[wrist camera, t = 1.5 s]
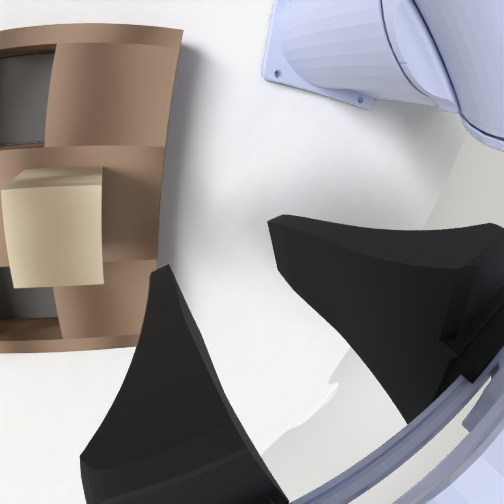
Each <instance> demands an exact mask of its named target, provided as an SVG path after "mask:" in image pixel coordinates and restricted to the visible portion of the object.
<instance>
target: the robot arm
mask: <svg viewBox="0 0 504 504" xmlns="http://www.w3.org/2000/svg"><path fill="white" fill-rule="evenodd" d="M275 71H277V72H278V73H279V76H278V78H276V77H275ZM261 75H262V77H263V78H264V79H266V80H268V81H273V82H277V83H281V84H285V85H289V86H293V87H296V88H300V89H304V90H307V91H311V92H314V93H318V94H321V95H324V96H327V97H331V98H334V99H337V100H340V101H343V102H346V103H349V104H352V105H355V106H358V107H361V108H363V109H367V110H371V109H372V108H373V106H374V100H375V98H378V99H387V100H395V101H403V102H410V103H417V104H423V105H429V106H438V107H439V109H440V110H442V111H447V112H452V113H457V114H460V118H461V121H462V123H463V125H464V127H465V128H466V130H467V131H468V132H469V133H470V134H471V135H472V136H473V137H474V138H475V139H477V140H478V141H480V142H481V143H483V144H485V145H487V146H489V147H492V148H494V149H497V150H500V151H503V152H504V0H274V2H273V7H272V13H271V18H270V24H269V29H268V35H267V40H266V46H265V52H264V57H263V63H262V69H261ZM358 98H359V102H358ZM267 222H268V227H269V231H270V236H271V241H272V245H273V250H274V255H275V259H276V264H277V269H278V271H279V272H280V274H281V275H282V276H283V277H284V279H285V280H286V281H287V283H288V284H289V285H290V286H291V287H292V289H293V290H294V291H295V292H296V293H297V294H298V295H299V296H300V297H301V298H302V299H304V300H305V301H306V302H307V303H308V304H309V305H310V306H311V307H312V308H313V309H314V310H315V311H316V312H317V313H319V314H320V315H321V316H322V317H323V318H324V319H325V320H326V321H327V322H328V323H329V324H330V325H331V326H333V327H334V328H335V329H336V330H337V331H338V332H339V333H340V334H341V336H342V337H343V338H344V339H345V340H346V341H347V342H348V344H349V345H350V346H351V347H352V348H353V350H354V351H355V352H356V353H357V354H358V355H359V357H360V358H361V359H362V361H364V363H365V364H366V365H367V367H368V368H369V369H370V371H371V372H372V373H373V375H374V376H375V377H376V379H377V380H378V381H379V383H380V384H381V385H382V387H383V388H384V390H385V391H386V392H387V394H388V395H389V397H390V398H391V399H392V401H393V403H394V404H395V405H396V407H397V408H398V410H399V411H400V413H401V415H402V416H403V418H404V419H405V421H406V423H407V424H408V425H407V426H406V427H405V428H403V429H402V430H401V431H400V432H398V433H397V434H396V435H395V436H393V437H392V438H391V439H389V440H388V441H387V442H386V443H384V444H383V445H382V446H380V447H379V448H378V449H376V450H375V451H374V452H372V453H371V454H370V455H368V456H367V457H365V458H364V459H362V460H361V461H359V462H358V463H356V464H355V465H353V466H352V467H351V468H349V469H348V470H346V471H345V472H343V473H341V474H340V475H338V476H337V477H335V478H333V479H332V480H330V481H328V482H327V483H325V484H324V485H322V486H320V487H319V488H317V489H315V490H313V491H311V492H310V493H308V494H306V495H304V496H302V497H300V498H299V499H297V500H295V501H293V502H291V503H289V500H288V499H287V497H286V496H285V494H284V493H283V491H282V490H281V488H280V486H279V485H278V483H277V482H276V480H275V479H274V477H273V476H272V474H271V472H270V471H269V470H268V468H267V466H266V465H265V463H264V462H263V460H262V458H261V456H260V455H259V453H258V451H257V450H256V448H255V446H254V445H253V443H252V441H251V440H250V438H249V436H248V435H247V433H246V431H245V429H244V428H243V426H242V424H241V422H240V421H239V419H238V417H237V415H236V414H235V412H234V410H233V408H232V406H231V405H230V403H229V401H228V399H227V397H226V395H225V393H224V390H223V388H222V386H221V383H220V381H219V378H218V376H217V373H216V371H215V368H214V366H213V363H212V361H211V358H210V356H209V353H208V350H207V348H206V345H205V343H204V340H203V337H202V335H201V333H200V331H199V329H198V327H197V325H196V322H195V320H194V318H193V316H192V314H191V312H190V310H189V308H188V305H187V303H186V301H185V299H184V297H183V295H182V292H181V290H180V288H179V286H178V283H177V281H176V279H175V277H174V274H173V272H172V270H171V268H170V266H169V265H166V266H164V267H162V268H160V269H157V270H155V271H153V272H151V274H150V276H149V291H148V298H147V304H146V310H145V315H144V320H143V324H142V328H141V332H140V336H139V340H138V343H137V347H136V350H135V353H134V356H133V359H132V362H131V364H130V367H129V369H128V372H127V374H126V377H125V379H124V381H123V384H122V386H121V388H120V390H119V392H118V394H117V396H116V398H115V400H114V402H113V404H112V406H111V408H110V410H109V411H108V413H107V415H106V417H105V418H104V420H103V422H102V423H101V425H100V427H99V428H98V430H97V431H96V433H95V434H94V436H93V437H92V439H91V440H90V442H89V443H88V445H87V447H86V448H85V450H84V451H83V452H82V454H81V455H80V468H81V478H82V484H83V489H84V494H85V499H86V503H87V504H348V503H349V502H351V501H352V500H354V499H355V498H357V497H358V496H360V495H361V494H363V493H364V492H366V491H367V490H369V489H370V488H372V487H373V486H374V485H376V484H377V483H379V482H380V481H381V480H383V479H384V478H385V477H387V476H388V475H389V474H391V473H392V472H393V471H395V470H396V469H397V468H398V467H400V466H401V465H402V464H403V463H405V462H406V461H407V460H408V459H409V458H411V457H412V456H413V455H414V454H415V453H417V452H418V451H419V450H420V449H421V448H422V447H423V446H425V444H427V443H428V442H429V441H430V440H431V439H432V438H433V437H434V436H435V435H436V434H438V433H439V432H440V431H441V430H442V429H443V428H444V427H445V426H446V425H447V424H448V423H449V422H450V421H451V420H452V419H453V418H454V417H455V416H456V415H457V414H458V413H459V412H460V410H461V409H462V408H463V407H464V406H465V405H466V404H467V403H468V402H469V401H470V400H471V399H472V397H473V396H474V395H475V394H476V393H477V392H478V391H479V389H480V388H481V387H482V386H483V385H484V384H485V382H486V381H487V380H488V379H489V377H490V376H491V379H492V380H491V381H490V383H489V384H488V386H487V387H486V388H485V389H484V391H483V393H482V395H481V397H480V398H479V400H478V401H477V403H476V404H475V406H474V407H473V409H472V410H471V412H470V413H469V414H468V415H467V417H466V418H465V419H464V420H463V422H462V425H463V426H464V427H465V428H466V429H467V430H468V431H469V432H470V433H469V434H468V435H467V436H466V437H465V438H464V439H463V440H462V441H461V442H460V444H459V445H458V446H457V447H456V448H455V449H454V450H453V451H452V452H451V453H450V454H449V455H448V456H447V457H446V458H445V459H444V460H443V461H442V462H440V463H439V464H438V465H437V466H436V467H435V468H434V469H433V470H432V471H431V472H430V473H428V474H427V475H426V476H425V477H424V478H423V479H422V480H421V481H420V482H418V483H417V484H416V485H415V486H414V487H412V488H411V489H410V490H409V491H407V492H406V493H405V494H404V495H402V496H401V497H400V498H399V499H397V500H396V501H395V502H393V503H392V504H504V228H502V227H500V226H498V225H496V224H492V223H487V224H481V225H475V226H469V227H463V228H454V229H443V230H411V231H406V230H386V229H373V228H365V227H357V226H350V225H344V224H338V223H332V222H327V221H321V220H316V219H311V218H305V217H300V216H293V215H281V216H278V217H276V218H274V219H271V220H269V221H267Z"/></svg>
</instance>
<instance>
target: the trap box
mask: <svg viewBox="0 0 504 504" xmlns="http://www.w3.org/2000/svg"><path fill="white" fill-rule="evenodd" d="M182 35H183V30H180V29H172V28H164V27H154V26H143V25H129V24H103V23H82V24H56V25H43V26H32V27H24V28H16V29H9V30H3V31H0V58H5V59H0V145H1V144H11V143H23V142H38V141H45V142H43V143H28V144H15V145H4V146H0V353H45V352H68V351H85V350H100V349H113V348H124V347H135V346H137V343H138V340H139V336H140V332H141V328H142V324H143V320H144V315H145V310H146V304H147V298H148V291H149V276H150V274H151V272H153V271H155V270H157V249H158V228H159V211H160V197H161V184H162V173H163V162H164V153H165V144H166V135H167V127H168V119H169V112H170V105H171V98H172V91H173V85H174V79H175V73H176V67H177V61H178V56H179V50H180V45H181V40H182ZM45 53H55V54H45ZM33 54H41V55H33ZM23 55H30V56H23ZM14 56H20V57H14ZM7 57H12V58H7ZM90 166H103V172H102V258H103V278H104V284H95V285H76V286H56V287H33V288H14V286H13V281H12V276H11V270H10V265H9V259H8V253H7V246H6V239H5V231H4V222H3V212H2V199H1V189H3V188H4V187H5V186H6V185H7V184H8V183H9V182H11V181H12V180H13V179H14V178H15V177H17V176H18V175H19V174H20V173H21V172H23V171H24V170H25V169H38V168H58V167H90Z"/></svg>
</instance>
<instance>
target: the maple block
mask: <svg viewBox="0 0 504 504" xmlns="http://www.w3.org/2000/svg"><path fill="white" fill-rule="evenodd" d="M102 172H103V166H90V167H58V168H38V169H25V170H24V171H23V172H21V173H20V174H19V175H18V176H17V177H15V178H14V179H13V180H12V181H11V182H9V183H8V184H7V185H6V186H5V187H4V188H3V189H1V199H2V212H3V222H4V231H5V239H6V246H7V253H8V259H9V265H10V270H11V276H12V281H13V286H14V288H33V287H56V286H76V285H95V284H104V278H103V258H102Z"/></svg>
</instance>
